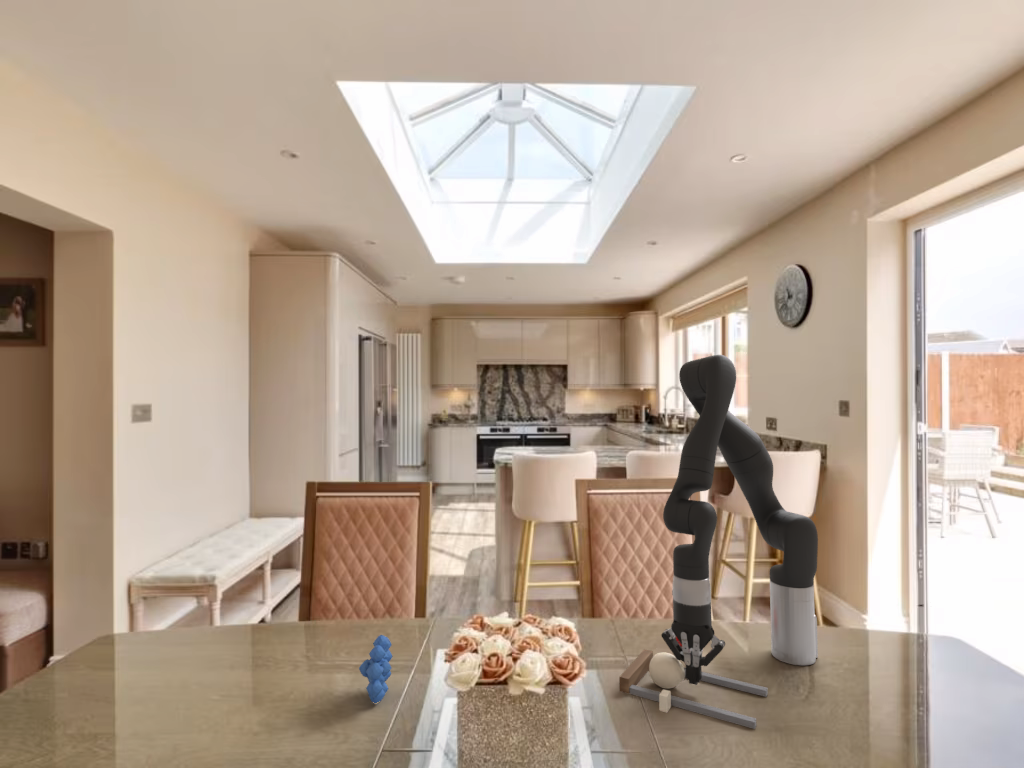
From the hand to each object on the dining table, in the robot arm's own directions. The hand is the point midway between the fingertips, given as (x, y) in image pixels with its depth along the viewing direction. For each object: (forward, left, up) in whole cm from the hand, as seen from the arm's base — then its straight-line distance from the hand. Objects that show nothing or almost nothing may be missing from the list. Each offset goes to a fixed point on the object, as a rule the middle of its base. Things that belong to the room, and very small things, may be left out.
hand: (693, 682), depth 116 cm
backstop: (+6, -11, -2) cm, 12 cm away
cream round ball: (+3, -5, -2) cm, 6 cm away
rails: (0, +1, -2) cm, 2 cm away
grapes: (+58, -30, -2) cm, 65 cm away
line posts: (+2, -3, -2) cm, 4 cm away
